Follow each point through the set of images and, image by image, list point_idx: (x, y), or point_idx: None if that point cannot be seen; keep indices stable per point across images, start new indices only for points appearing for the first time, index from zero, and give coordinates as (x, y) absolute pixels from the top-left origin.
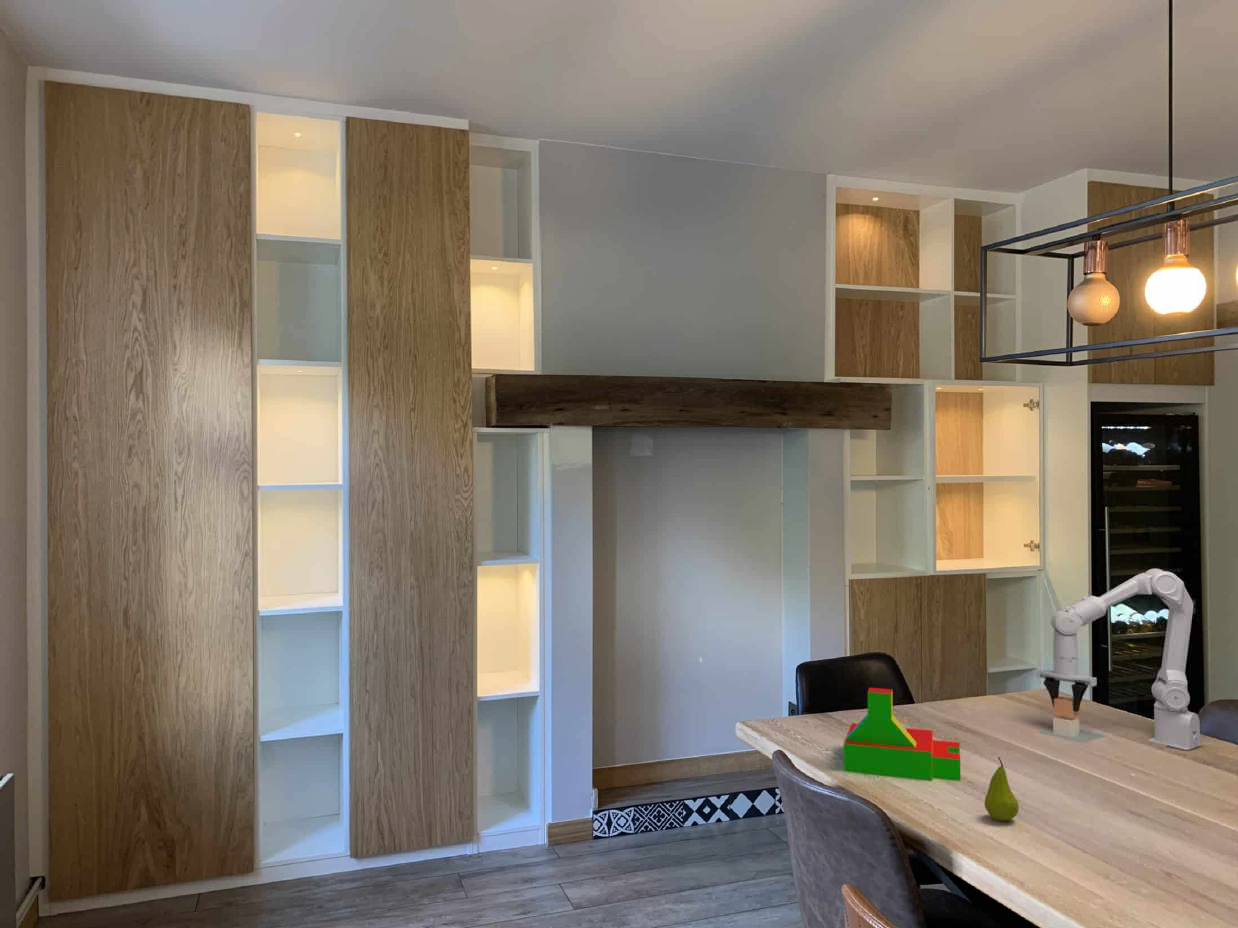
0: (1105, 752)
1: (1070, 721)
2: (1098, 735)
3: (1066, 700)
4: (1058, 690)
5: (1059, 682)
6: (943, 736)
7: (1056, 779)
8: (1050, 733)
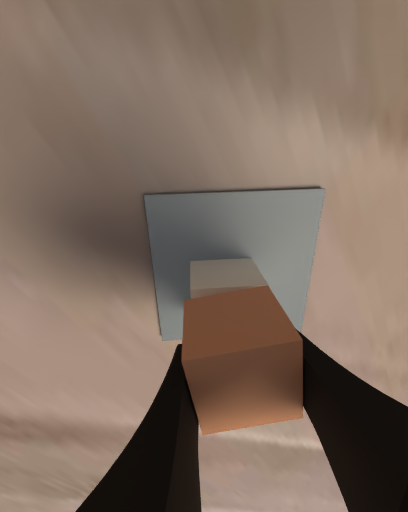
0: (362, 339)
1: None
2: (302, 216)
3: (262, 409)
4: (179, 426)
5: (170, 505)
6: (76, 487)
7: (340, 499)
8: None
